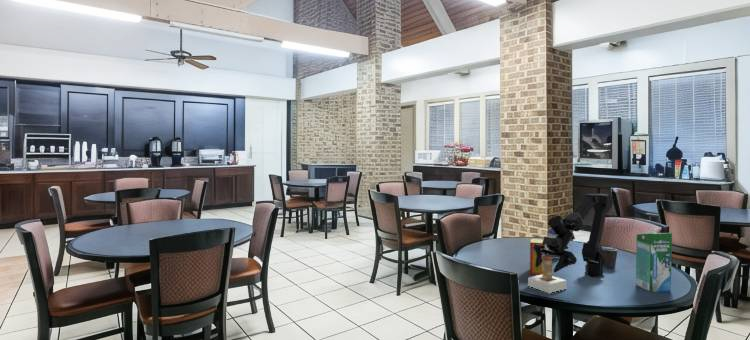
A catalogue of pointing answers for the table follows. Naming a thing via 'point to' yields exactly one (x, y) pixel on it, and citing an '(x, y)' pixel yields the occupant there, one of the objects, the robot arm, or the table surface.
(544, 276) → the tan cylindrical container
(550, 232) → the beverage bottle
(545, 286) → the socket
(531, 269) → the baking soda box
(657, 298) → the table surface
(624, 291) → the table surface
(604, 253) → the coffee cup
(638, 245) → the milk carton
